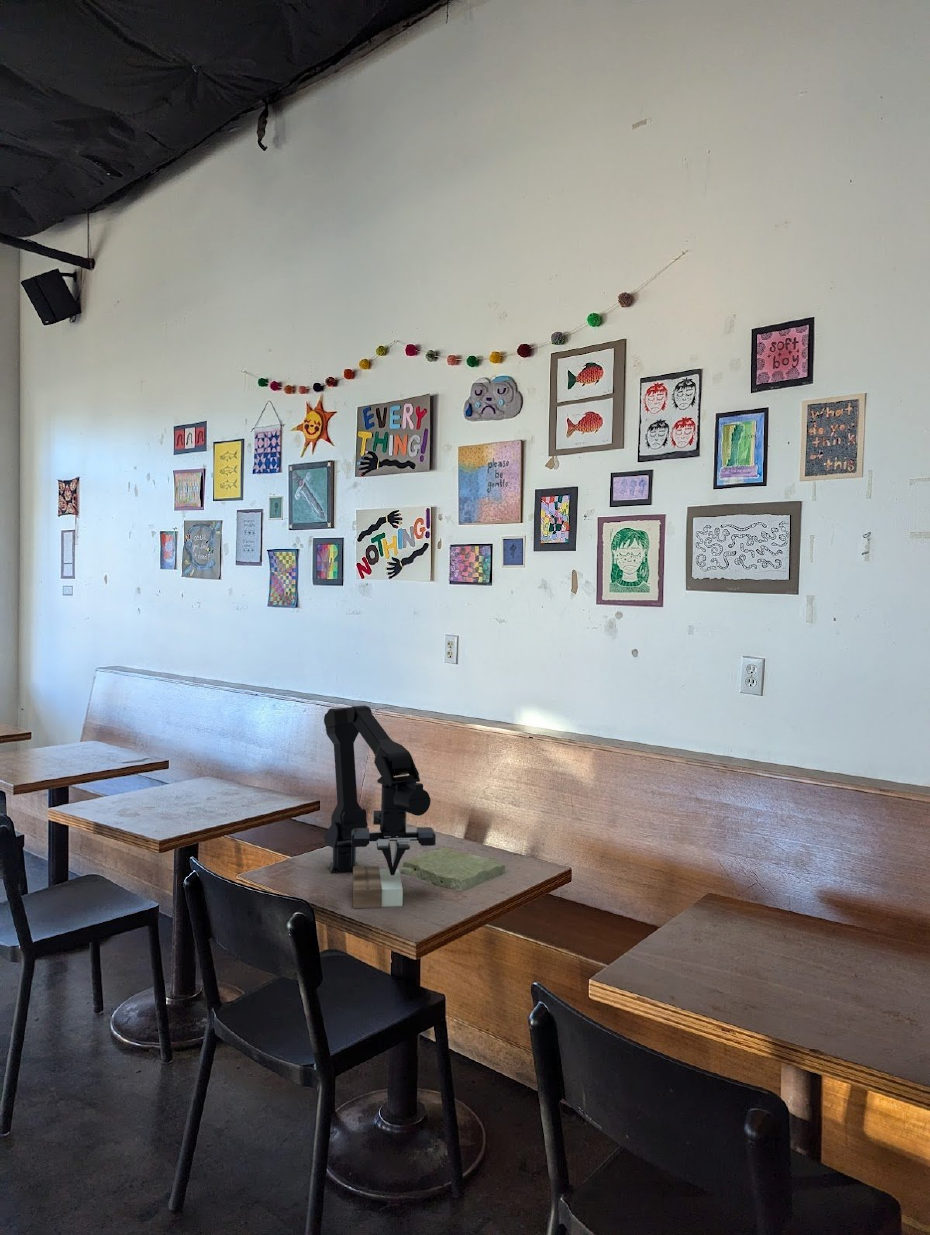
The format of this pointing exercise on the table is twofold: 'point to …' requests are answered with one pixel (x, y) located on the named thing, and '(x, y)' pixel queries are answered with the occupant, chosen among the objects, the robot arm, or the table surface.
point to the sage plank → (391, 888)
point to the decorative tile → (452, 868)
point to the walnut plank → (366, 887)
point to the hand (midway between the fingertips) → (392, 874)
